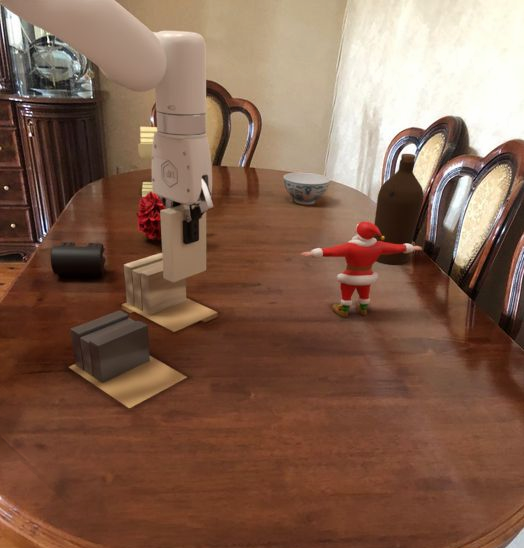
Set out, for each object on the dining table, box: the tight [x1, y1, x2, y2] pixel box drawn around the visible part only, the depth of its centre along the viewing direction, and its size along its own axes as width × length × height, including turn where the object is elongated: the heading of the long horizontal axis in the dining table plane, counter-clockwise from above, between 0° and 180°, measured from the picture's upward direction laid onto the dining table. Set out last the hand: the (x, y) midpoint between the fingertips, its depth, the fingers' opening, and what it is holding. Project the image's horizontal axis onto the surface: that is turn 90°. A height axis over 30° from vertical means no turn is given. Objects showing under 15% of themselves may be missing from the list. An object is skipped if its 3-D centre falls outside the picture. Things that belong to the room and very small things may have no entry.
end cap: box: [50, 241, 107, 278], centre depth 111 cm, size 10×7×7 cm
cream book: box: [160, 205, 207, 283], centre depth 90 cm, size 3×8×12 cm, turn 140°
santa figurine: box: [300, 221, 423, 318], centre depth 100 cm, size 25×6×19 cm, turn 107°
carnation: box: [135, 191, 184, 242], centre depth 139 cm, size 16×18×35 cm
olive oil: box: [373, 153, 424, 265], centre depth 127 cm, size 11×11×25 cm
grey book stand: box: [68, 310, 188, 409], centre depth 80 cm, size 15×11×8 cm
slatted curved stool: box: [137, 126, 157, 198], centre depth 169 cm, size 30×16×18 cm, turn 10°
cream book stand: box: [121, 252, 219, 333], centre depth 98 cm, size 15×11×9 cm
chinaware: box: [283, 172, 331, 206], centre depth 172 cm, size 15×15×8 cm
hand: (184, 238), depth 90 cm, fingers closed on cream book, 2 cm apart
